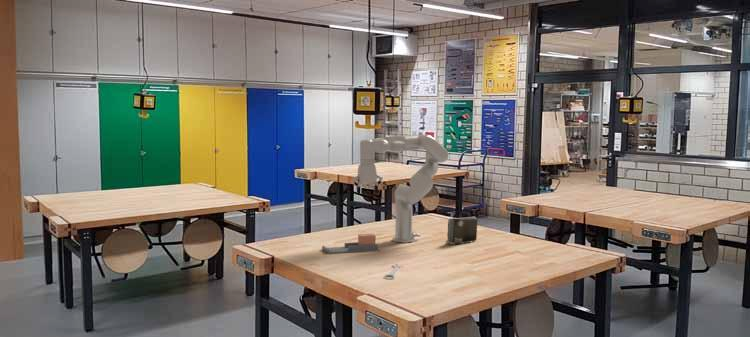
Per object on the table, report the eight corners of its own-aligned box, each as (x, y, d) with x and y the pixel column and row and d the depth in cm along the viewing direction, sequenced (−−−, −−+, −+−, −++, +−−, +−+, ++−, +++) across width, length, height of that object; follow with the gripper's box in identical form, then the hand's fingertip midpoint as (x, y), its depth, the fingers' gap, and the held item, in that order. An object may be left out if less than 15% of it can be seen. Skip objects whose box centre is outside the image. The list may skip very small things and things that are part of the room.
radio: (472, 238, 342) (473, 213, 341) (483, 241, 335) (484, 215, 334) (442, 242, 329) (443, 216, 327) (453, 245, 322) (454, 219, 320)
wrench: (403, 267, 278) (393, 266, 279) (404, 264, 278) (393, 263, 279) (394, 280, 254) (382, 279, 255) (394, 277, 254) (382, 276, 255)
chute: (372, 246, 317) (372, 240, 316) (378, 250, 307) (378, 244, 307) (322, 249, 307) (322, 244, 307) (327, 254, 298) (327, 248, 298)
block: (372, 245, 314) (372, 233, 313) (375, 247, 309) (375, 235, 309) (358, 246, 311) (358, 234, 311) (361, 248, 307) (361, 236, 306)
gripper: (379, 161, 325) (380, 191, 327) (349, 162, 320) (350, 193, 321) (384, 162, 318) (384, 193, 320) (353, 163, 312) (354, 195, 314)
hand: (367, 193), depth 320 cm, fingers open, 9 cm apart
